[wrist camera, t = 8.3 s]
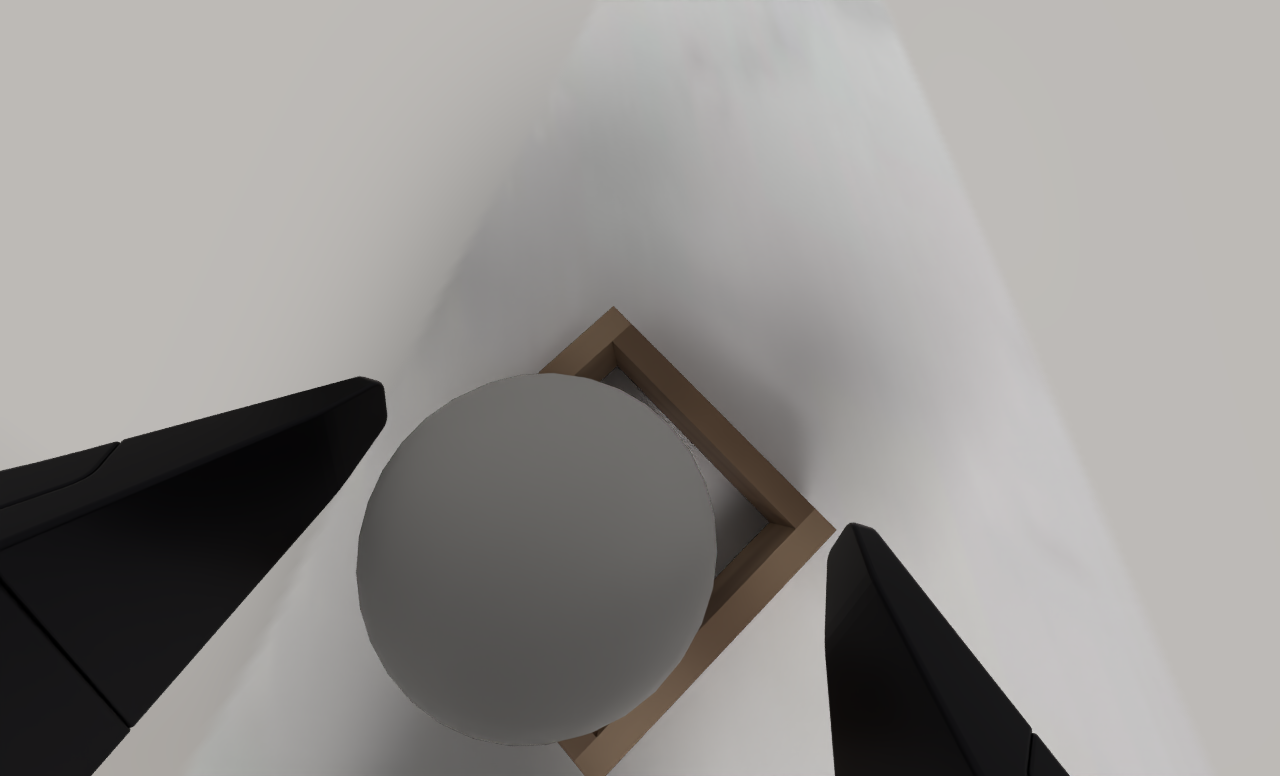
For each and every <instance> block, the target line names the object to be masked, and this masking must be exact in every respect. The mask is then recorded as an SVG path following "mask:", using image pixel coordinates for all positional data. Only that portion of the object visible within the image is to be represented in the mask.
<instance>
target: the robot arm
mask: <svg viewBox="0 0 1280 776" xmlns="http://www.w3.org/2000/svg"><path fill="white" fill-rule="evenodd" d="M386 421H387V408H386V399H385V391H384V386H383V385H382V383H381V382H379V381H376V380H373V379H369V378H366V377H355V378H351V379H347V380H344V381H340V382H336V383H332V384H329V385H325V386H321V387H317V388H314V389H310V390H306V391H303V392H299V393H295V394H291V395H288V396H284V397H281V398H277V399H273V400H269V401H265V402H262V403H258V404H254V405H251V406H247V407H244V408H239V409H236V410H232V411H228V412H224V413H221V414H217V415H213V416H210V417H206V418H202V419H198V420H195V421H191V422H187V423H184V424H180V425H176V426H173V427H169V428H165V429H162V430H158V431H154V432H150V433H147V434H143V435H139V436H135V437H132V438H128V439H124V440H123V441H122V442H121V443H120V442H113V443H109V444H105V445H102V446H98V447H94V448H91V449H87V450H83V451H80V452H75V453H71V454H68V455H64V456H60V457H56V458H52V459H48V460H44V461H41V462H37V463H32V464H28V465H24V466H19V467H15V468H11V469H6V470H2V471H0V776H91V775H92V774H93V773H94V772H95V771H96V769H97V768H98V767H99V766H100V765H101V764H102V762H104V761H105V759H106V758H107V757H108V756H109V755H110V754H111V752H112V751H113V750H114V749H115V748H116V747H117V746H118V744H119V743H120V742H121V741H122V740H123V739H124V737H125V736H126V735H127V734H128V733H129V732H130V728H131V727H133V726H135V724H136V723H137V722H138V721H139V720H140V719H141V717H142V716H143V715H144V714H145V713H146V712H147V711H148V710H149V708H150V707H151V706H152V705H153V704H154V703H155V701H156V700H157V699H158V698H159V697H160V695H162V693H163V692H164V691H165V690H166V689H167V688H168V687H169V685H170V684H171V683H172V682H173V681H174V680H175V679H176V677H177V676H178V675H179V674H180V673H181V672H182V671H183V669H184V668H185V667H186V666H187V665H188V664H189V662H190V661H191V660H192V659H193V658H194V657H195V656H196V654H197V653H198V652H199V651H200V650H201V649H202V648H203V646H204V645H205V644H206V643H207V642H208V641H209V640H210V638H211V637H212V636H213V635H214V634H215V633H216V632H217V630H218V629H219V628H220V627H221V626H222V625H223V623H224V622H225V621H226V620H227V619H228V618H229V617H230V616H231V614H232V613H233V612H234V611H235V610H236V608H237V607H238V606H239V605H240V604H241V603H242V602H243V600H244V599H245V598H246V597H247V596H248V595H249V594H250V593H251V591H252V590H253V589H254V588H255V587H256V586H257V584H258V583H259V582H260V581H261V580H262V579H263V577H265V575H266V574H267V573H268V572H269V571H270V570H271V568H272V567H273V566H274V565H275V564H276V563H277V562H278V560H279V559H280V558H281V557H282V556H283V555H284V554H285V552H286V551H287V550H288V549H289V548H290V547H291V545H292V544H293V543H294V542H295V541H296V540H297V539H298V537H299V536H300V535H301V534H302V533H303V532H304V531H305V530H306V528H307V527H308V526H309V525H310V524H311V523H312V521H313V520H314V519H315V518H316V517H317V516H318V515H319V513H320V512H321V511H322V510H323V509H324V508H325V507H326V505H327V504H328V503H329V502H330V501H331V500H332V498H333V497H334V496H335V495H336V494H337V492H338V491H339V490H340V489H341V487H342V486H343V485H344V483H345V482H346V481H347V479H348V478H349V476H350V475H351V474H352V472H353V471H354V469H355V468H356V466H357V465H358V464H359V462H360V461H361V459H362V458H363V457H364V455H365V454H366V452H367V451H368V449H369V448H370V447H371V445H372V444H373V442H374V441H375V439H376V438H377V437H378V435H379V434H380V432H381V431H382V429H383V428H384V426H385V424H386ZM825 658H826V670H827V683H828V695H829V708H830V720H831V732H832V745H833V757H834V770H835V776H1070V775H1069V774H1068V773H1067V772H1066V770H1065V769H1064V768H1063V767H1062V766H1061V764H1060V763H1059V762H1058V761H1057V759H1056V758H1055V757H1054V755H1053V754H1052V753H1051V752H1050V750H1049V749H1048V748H1047V747H1046V745H1045V744H1044V743H1043V742H1042V740H1041V739H1040V738H1039V736H1038V735H1037V734H1035V733H1032V728H1031V727H1030V725H1029V724H1028V723H1027V722H1026V720H1025V719H1024V718H1023V716H1022V715H1021V714H1020V713H1019V711H1018V710H1017V709H1016V708H1015V706H1014V705H1013V704H1012V702H1011V701H1010V700H1009V699H1008V697H1007V696H1006V695H1005V694H1004V692H1003V691H1002V690H1001V689H1000V687H999V686H998V685H997V683H996V682H995V681H994V680H993V678H992V677H991V676H990V675H989V673H988V672H987V671H986V670H985V668H984V667H983V666H982V664H981V663H980V662H979V661H978V659H977V658H976V657H975V656H974V654H973V653H972V652H971V651H970V649H969V648H968V647H967V645H966V644H965V643H964V642H963V640H962V639H961V638H960V637H959V635H958V634H957V633H956V631H955V630H954V629H953V628H952V626H951V625H950V624H949V623H948V621H947V620H946V619H945V618H944V616H943V615H942V614H941V612H940V611H939V610H938V609H937V607H936V606H935V605H934V604H933V602H932V601H931V600H930V599H929V597H928V596H927V595H926V593H925V592H924V591H923V590H922V588H921V587H920V586H919V585H918V583H917V582H916V581H915V580H914V578H913V577H912V576H911V574H910V573H909V572H908V571H907V569H906V568H905V567H904V566H903V564H902V563H901V562H900V560H899V559H898V558H897V557H896V555H895V554H894V553H893V552H892V550H891V549H890V548H889V547H888V545H887V544H886V543H885V541H884V540H883V539H882V538H881V536H880V535H879V534H878V533H877V532H876V530H874V529H873V528H871V527H868V526H864V525H861V524H858V523H849V524H848V525H847V526H846V527H845V528H844V530H843V531H842V533H841V535H840V536H839V538H838V539H837V541H836V542H835V544H834V545H833V547H832V548H831V550H830V552H829V555H828V560H827V582H826V611H825Z"/></svg>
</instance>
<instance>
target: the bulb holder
mask: <svg viewBox="0 0 1280 776" xmlns="http://www.w3.org/2000/svg"><path fill="white" fill-rule="evenodd" d="M617 366H618V367H619V368H620V369H621V370H622V371H623V372H624V373H625V374H626V375H627V376H628V377H629V378H630V379H631V380H632V381H633V382H634V383H635V384H636V385H637V387H638V388H639V389H640V390H641V391H642V392H643V393H644V394H645V395H646V396H647V397H648V398H649V399H650V400H651V401H652V402H653V403H654V404H655V405H656V406H657V407H658V408H659V409H660V410H661V411H662V412H663V413H664V414H665V415H666V416H667V417H668V418H669V419H670V421H671V422H672V423H673V424H674V425H675V426H676V427H677V428H678V429H679V430H680V431H681V432H682V433H683V434H684V435H685V436H686V437H687V438H688V439H689V440H690V441H691V442H692V443H693V444H694V445H695V446H696V447H697V448H698V449H699V450H700V451H701V452H702V453H703V455H704V456H705V457H706V458H707V459H708V460H709V461H710V462H711V463H712V464H713V465H714V466H715V467H716V468H717V469H718V470H719V471H720V472H721V473H722V474H723V475H724V476H725V477H726V478H727V479H728V480H729V481H730V482H731V483H732V484H733V485H734V486H735V487H736V488H737V490H738V491H739V492H740V493H741V494H742V495H743V496H744V497H745V498H746V499H747V500H748V501H749V502H750V503H751V504H752V505H753V506H754V507H755V508H756V509H757V510H758V511H759V512H760V513H761V514H762V515H763V516H764V517H765V518H766V519H767V520H768V521H769V523H768V524H767V525H766V526H765V527H764V529H763V530H762V531H761V532H760V533H759V534H758V535H757V536H756V537H755V538H754V539H753V540H752V541H751V542H750V543H749V544H748V545H747V546H746V547H745V548H744V549H743V550H742V551H741V552H740V553H739V554H738V555H737V556H736V557H735V558H734V559H733V561H732V562H731V563H730V564H729V565H728V566H727V567H726V568H725V569H724V570H723V571H722V572H721V573H720V574H719V575H718V576H717V577H716V578H715V579H714V584H713V590H712V593H711V596H710V599H709V602H708V606H707V609H706V612H705V615H704V618H703V621H702V624H701V626H700V628H699V630H698V631H697V633H696V635H695V637H694V639H693V641H692V642H691V644H690V646H689V648H688V650H687V652H686V653H685V655H684V657H683V658H682V660H681V661H680V663H679V664H678V665H677V666H676V668H675V669H674V670H673V671H672V672H671V674H670V675H669V676H668V677H667V678H666V680H665V681H664V682H663V683H662V684H661V686H660V687H659V688H658V689H657V690H656V692H655V693H653V694H652V695H651V696H649V697H648V698H647V699H646V700H644V701H643V702H642V703H641V704H639V705H638V706H637V707H636V708H634V709H633V710H632V711H631V712H629V713H628V714H627V715H626V716H624V717H622V718H620V719H618V720H616V721H614V722H612V723H610V724H608V725H606V726H604V727H602V728H600V729H598V730H596V731H594V732H592V733H589V734H586V735H583V736H579V737H575V738H571V739H567V740H563V741H559V742H558V743H559V744H560V746H561V747H562V748H563V749H564V751H565V752H566V753H567V754H568V756H569V757H570V758H571V759H572V761H573V762H574V763H575V764H576V766H577V767H578V768H579V769H580V771H581V772H582V773H583V774H584V775H585V776H606V775H607V774H608V773H609V772H610V771H611V770H612V768H613V767H614V766H615V765H616V764H617V763H618V762H619V761H620V760H621V759H622V758H623V757H624V756H625V755H626V754H627V752H628V751H629V750H630V749H631V748H632V747H633V746H634V745H635V744H636V743H637V742H638V741H639V740H640V739H641V738H642V737H643V735H644V734H645V733H646V732H647V731H648V730H649V729H650V728H651V727H652V726H653V725H654V724H655V723H656V722H657V721H658V719H659V718H660V717H661V716H662V715H663V714H664V713H665V712H666V711H667V710H668V709H669V708H670V707H671V706H672V705H673V704H674V702H675V701H676V700H677V699H678V698H679V697H680V696H681V695H682V694H683V693H684V692H685V691H686V690H687V689H688V688H689V687H690V685H691V684H692V683H693V682H694V681H695V680H696V679H697V678H698V677H699V676H700V675H701V674H702V673H703V672H704V671H705V669H706V668H707V667H708V666H709V665H710V664H711V663H712V662H713V661H714V660H715V659H716V658H717V657H718V656H719V655H720V654H721V652H722V651H723V650H724V649H725V648H726V647H727V646H728V645H729V644H730V643H731V642H732V641H733V640H734V639H735V638H736V636H737V635H738V634H739V633H740V632H741V631H742V630H743V629H744V628H745V627H746V626H747V625H748V624H749V623H750V622H751V621H752V619H753V618H754V617H755V616H756V615H757V614H758V613H759V612H760V611H761V610H762V609H763V608H764V607H765V606H766V605H767V603H768V602H769V601H770V600H771V599H772V598H773V597H774V596H775V595H776V594H777V593H778V592H779V591H780V590H781V589H782V588H783V586H784V585H785V584H786V583H787V582H788V581H789V580H790V579H791V578H792V577H793V576H794V575H795V574H796V573H797V572H798V570H799V569H800V568H801V567H802V566H803V565H804V564H805V563H806V562H807V561H808V560H809V559H810V558H811V557H812V556H813V555H814V553H815V552H816V551H817V550H818V549H819V548H820V547H821V546H822V545H823V544H824V543H825V542H826V541H827V540H828V539H829V537H830V536H831V535H832V534H833V533H834V532H835V531H836V529H835V528H834V527H833V526H832V525H831V524H830V523H829V522H828V521H827V520H826V519H825V518H824V517H823V516H822V515H821V514H820V513H819V512H818V511H817V510H816V509H815V508H814V507H813V506H812V505H811V504H810V503H809V502H808V501H807V500H806V499H805V498H804V497H803V496H802V495H801V494H800V493H799V492H798V491H797V490H796V489H795V488H794V487H793V486H792V485H791V484H790V483H789V482H788V481H787V480H786V479H785V478H784V477H783V476H782V475H781V474H780V473H779V472H778V471H777V470H776V469H775V468H774V467H773V466H772V465H771V464H770V463H769V462H768V461H767V460H766V459H765V458H764V457H763V456H762V455H761V454H760V453H759V452H758V451H757V450H756V449H755V448H754V447H753V446H752V445H751V444H750V443H749V442H748V441H747V440H746V439H745V438H744V437H743V436H742V435H741V434H740V433H739V432H738V431H737V430H736V429H735V428H734V427H733V426H732V425H731V424H730V422H729V421H728V420H727V419H726V418H725V417H724V416H723V415H722V414H721V413H720V412H719V411H718V410H717V409H716V408H715V407H714V406H713V405H712V404H711V403H710V402H709V401H708V400H707V399H706V398H705V397H704V396H703V395H702V394H701V393H700V392H699V391H698V390H697V389H696V388H695V387H694V386H693V385H692V384H691V383H690V382H689V381H688V380H687V379H686V378H685V377H684V376H683V375H682V374H681V373H680V372H679V371H678V370H677V369H676V368H675V367H674V366H673V365H672V364H671V363H670V362H669V361H668V360H667V359H666V358H665V357H664V356H663V355H662V354H661V353H660V352H659V351H658V350H657V349H656V348H655V347H654V346H653V345H652V344H651V343H650V342H649V341H648V340H647V339H646V338H645V337H644V336H643V335H642V334H641V333H640V332H639V331H638V330H637V329H636V328H635V327H634V326H633V325H632V324H631V323H630V322H629V321H628V320H627V319H626V318H625V317H624V316H623V315H622V314H621V313H620V312H619V311H618V310H617V309H616V308H615V307H614V306H613V307H612V308H611V309H610V310H608V311H607V312H606V313H605V314H604V315H603V316H602V317H601V318H600V319H598V320H597V321H596V322H595V323H594V324H593V325H592V326H591V327H589V328H588V329H587V330H586V331H585V332H584V333H583V334H582V335H580V336H579V337H578V338H577V339H576V340H575V341H574V342H573V343H571V344H570V345H569V346H568V347H567V348H566V349H565V350H564V351H562V352H561V353H560V354H559V355H558V356H557V357H556V358H555V359H553V360H552V361H551V362H550V363H549V364H548V365H547V366H546V367H544V368H543V369H542V370H541V371H540V372H539V373H538V374H546V373H556V374H563V375H570V376H577V377H584V378H589V379H592V380H595V381H598V382H600V381H601V380H602V379H603V378H605V377H606V376H607V375H608V374H609V373H610V372H611V371H612V370H613V369H614V368H615V367H617Z"/></svg>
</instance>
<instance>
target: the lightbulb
mask: <svg viewBox="0 0 1280 776" xmlns="http://www.w3.org/2000/svg"><path fill="white" fill-rule="evenodd" d="M716 558H717V542H716V528H715V516H714V512H713V509H712V505H711V501H710V497H709V494H708V490H707V486H706V483H705V481H704V479H703V477H702V475H701V473H700V470H699V468H698V466H697V464H696V462H695V460H694V458H693V456H692V454H691V452H690V451H689V450H688V448H687V447H686V446H685V444H684V443H683V442H682V440H681V439H680V438H679V436H678V435H677V434H676V432H675V431H674V430H673V428H672V427H671V426H670V425H669V424H668V423H667V422H665V421H664V420H663V419H662V418H661V417H660V416H659V415H658V414H656V413H655V412H654V411H653V410H652V409H651V408H650V407H649V406H647V405H646V404H644V403H643V402H641V401H639V400H637V399H636V398H634V397H632V396H631V395H629V394H627V393H626V392H624V391H622V390H620V389H618V388H615V387H612V386H609V385H607V384H604V383H601V382H598V381H595V380H592V379H589V378H584V377H577V376H570V375H563V374H556V373H546V374H528V375H519V376H515V377H511V378H507V379H503V380H499V381H495V382H491V383H488V384H486V385H483V386H481V387H479V388H477V389H475V390H473V391H470V392H468V393H466V394H464V395H462V396H459V397H457V398H455V399H453V400H451V401H450V402H449V403H447V404H446V405H444V406H443V407H441V408H440V409H439V410H437V411H436V412H434V413H433V414H431V415H430V416H429V417H427V418H426V419H425V420H424V421H423V422H422V423H421V424H420V425H419V426H418V427H417V428H416V429H415V430H414V431H413V432H412V433H411V434H410V435H409V436H408V437H407V438H406V439H405V440H404V441H403V442H402V443H401V445H400V446H399V448H398V449H397V450H396V452H395V453H394V455H393V456H392V458H391V459H390V461H389V462H388V463H387V465H386V466H385V468H384V469H383V471H382V473H381V475H380V477H379V479H378V482H377V484H376V486H375V488H374V490H373V492H372V495H371V497H370V499H369V501H368V504H367V508H366V512H365V516H364V519H363V523H362V527H361V531H360V535H359V543H358V557H357V570H356V575H357V585H358V594H359V603H360V610H361V613H362V616H363V619H364V623H365V626H366V629H367V632H368V636H369V639H370V642H371V644H372V646H373V647H374V649H375V651H376V653H377V655H378V657H379V659H380V660H381V662H382V664H383V666H384V668H385V670H386V671H387V673H388V675H389V676H390V677H391V678H392V679H393V681H394V682H395V683H396V684H397V685H398V687H399V688H400V689H401V690H402V691H403V692H404V694H405V695H406V696H407V697H408V698H409V699H410V701H411V702H412V703H414V704H415V705H416V706H418V707H419V708H420V709H422V710H423V711H424V712H426V713H427V714H428V715H430V716H431V717H432V718H434V719H435V720H436V721H437V722H439V723H440V724H442V725H445V726H447V727H449V728H451V729H453V730H456V731H458V732H460V733H462V734H464V735H466V736H469V737H471V738H473V739H478V740H483V741H488V742H493V743H498V744H503V745H507V746H519V745H547V744H551V743H555V742H559V741H563V740H567V739H571V738H575V737H579V736H583V735H586V734H589V733H592V732H594V731H596V730H598V729H600V728H602V727H604V726H606V725H608V724H610V723H612V722H614V721H616V720H618V719H620V718H622V717H624V716H626V715H627V714H628V713H629V712H631V711H632V710H633V709H634V708H636V707H637V706H638V705H639V704H641V703H642V702H643V701H644V700H646V699H647V698H648V697H649V696H651V695H652V694H653V693H655V692H656V690H657V689H658V688H659V687H660V686H661V684H662V683H663V682H664V681H665V680H666V678H667V677H668V676H669V675H670V674H671V672H672V671H673V670H674V669H675V668H676V666H677V665H678V664H679V663H680V661H681V660H682V658H683V657H684V655H685V653H686V652H687V650H688V648H689V646H690V644H691V642H692V641H693V639H694V637H695V635H696V633H697V631H698V630H699V628H700V626H701V624H702V621H703V618H704V615H705V612H706V609H707V606H708V602H709V599H710V596H711V593H712V590H713V584H714V576H715V567H716Z"/></svg>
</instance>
